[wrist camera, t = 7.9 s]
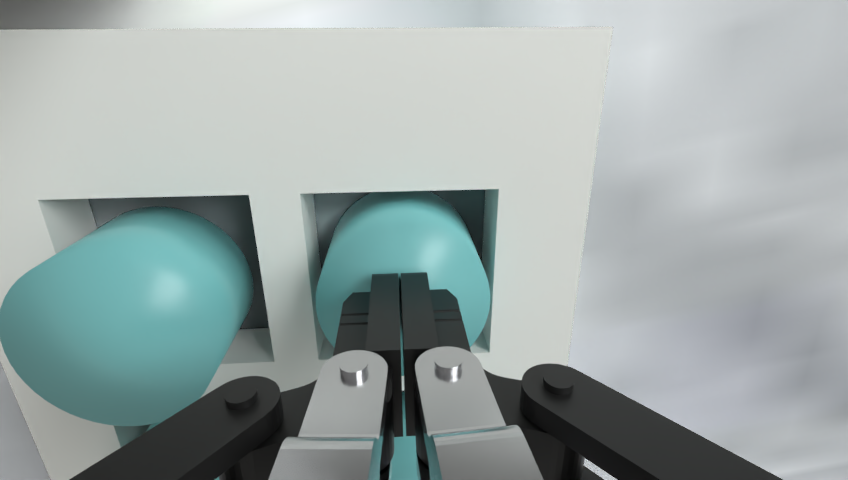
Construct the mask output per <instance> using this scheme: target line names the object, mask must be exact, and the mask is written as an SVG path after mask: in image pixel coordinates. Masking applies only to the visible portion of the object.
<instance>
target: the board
mask: <svg viewBox="0 0 848 480" xmlns="http://www.w3.org/2000/svg"><path fill="white" fill-rule="evenodd" d="M612 32H613V27H463V28H232V29H2V30H0V309H1V305H2V303H3V300H4V298H5V296H6V294H7V293H8V291H9V289H10V288H11V286H12V285H13V284H14V283H15V282H16V281H17V280H18V279H19V278H20V277H21V276H23V275H24V274H25V273H27V272H28V271H29V270H31V269H33V268H34V267H36V266H37V265H39V264H41V263H42V262H44V261H46V260H47V259H49V258H50V257H52V256H54V255H55V254H57V253H59V252H60V251H62V250H63V249H65V248H67V247H68V246H70V245H72V244H73V243H75V242H76V241H78V240H80V239H81V238H83V237H85V236H86V235H88V234H89V233H91V232H93V231H94V230H96V229H97V227H96V223H95V220H94V216H93V213H92V210H91V206H90V203H89V199H95V198H138V197H181V196H224V195H249V200H250V206H251V213H252V219H253V225H254V232H255V238H256V245H257V251H258V258H259V264H260V271H261V277H262V284H263V290H264V296H265V303H266V309H267V316H268V322H269V328H262V329H239V331H238V332H237V334H236V336H235V338H234V340H233V342H232V343H231V345H230V347H229V349H228V351H227V353H226V354H225V356H224V358H223V360H222V362H221V364H220V366H219V367H218V369H217V371H216V373H215V375H214V377H213V378H212V380H211V382H210V384H209V386H208V387H207V389H206V391H205V392H204V394H203V395H202V396H201V397H200V398H202V397H203V396H205V395H206V394H208V393H210V392H211V391H213V390H214V389H216V388H218V387H219V386H221V385H223V384H225V383H227V382H229V381H231V380H234V379H237V378H241V377H247V376H262V377H266V378H269V379H271V380H273V381H274V382H276V383H277V385H278V386H279V388H280V392H283V391H287V390H291V389H295V388H298V387H301V386H305V385H307V384H309V383H312V382H313V381H315V380H317V379H318V376H319V373H320V370H321V368H322V366H323V365H324V363H325V362H327V361H328V360H329V359H330V358H332V357H333V353H334V347H333V346H332V345H331V343H330V342H329V341H328V339H327V338H326V336H325V334H324V332H323V330H322V329H321V326H320V323H319V320H318V317H317V312H316V290H317V285H318V281H319V278H320V275H321V266H320V256H319V246H318V236H317V226H316V216H315V206H314V196H313V193H352V192H395V191H437V190H480V189H485V205H484V227H483V249H482V265H483V268H484V270H485V273H486V276H487V279H488V282H489V288H490V308H489V314H488V317H487V321H486V323H485V325H484V328H483V330H482V332H481V333H480V335H479V337H478V338H477V340H476V341H475V342H474V343H473V344H472V346H471V347H470V350H471V353H472V354H474V355H475V356H476V357H477V358H478V359H479V361H480V363H481V365H482V367H483V369H484V370H486V371H488V372H490V373H492V374H494V375H497V376H501V377H505V378H511V379H517V380H522V377H523V375H524V373H525V372H526V371H527V370H528V369H529V368H531V367H533V366H536V365H540V364H547V363H550V364H560V365H564V366H568V358H569V351H570V343H571V336H572V329H573V321H574V314H575V306H576V299H577V291H578V284H579V277H580V269H581V262H582V254H583V247H584V240H585V232H586V225H587V217H588V210H589V203H590V195H591V188H592V180H593V173H594V165H595V158H596V151H597V143H598V136H599V128H600V121H601V114H602V106H603V99H604V91H605V84H606V77H607V69H608V62H609V54H610V47H611V39H612ZM0 362H1V365H2V367H3V369H4V372H5V374H6V376H7V379H8V381H9V383H10V386H11V388H12V390H13V393H14V395H15V397H16V400H17V402H18V404H19V407H20V409H21V411H22V414H23V416H24V419H25V421H26V423H27V426H28V428H29V430H30V433H31V435H32V437H33V440H34V442H35V444H36V447H37V449H38V451H39V454H40V456H41V458H42V461H43V463H44V465H45V468H46V470H47V473H48V475H49V477H50V480H69V479H71V478H72V477H74V476H76V475H77V474H79V473H81V472H82V471H84V470H85V469H87V468H89V467H90V466H92V465H93V464H95V463H97V462H98V461H100V460H102V459H103V458H105V457H106V456H108V455H110V454H111V453H113V452H114V451H116V450H118V449H119V448H121V447H123V446H124V445H126V444H127V443H129V442H131V441H132V440H134V439H135V438H137V437H139V436H140V435H142V434H143V433H145V432H146V431H147V429H148V428H149V426H150V425H151V424H149V425H141V426H115V425H107V424H101V423H96V422H92V421H89V420H85V419H82V418H79V417H77V416H74V415H72V414H69V413H67V412H65V411H63V410H61V409H59V408H57V407H55V406H54V405H52V404H51V403H49V402H47V401H46V400H44V399H43V398H42V397H40V396H39V395H38V394H36V393H35V392H34V391H33V390H32V389H31V388H30V387H29V386H28V385H27V384H25V382H24V381H23V380H22V379H21V378H20V377H19V375H18V374H17V373H16V372H15V370H14V369H13V367H12V366H11V364H10V363H9V361H8V359H7V357H6V355H5V353H4V350H3V347H2V344H1V341H0ZM402 391H404V376H402Z"/></svg>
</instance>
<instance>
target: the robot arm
mask: <svg viewBox="0 0 848 480" xmlns="http://www.w3.org/2000/svg"><path fill="white" fill-rule="evenodd" d="M401 304H402V339H403V366H404V392H405V418H406V436H415V438H416V466H417V475H418V480H604V479H602V478H601V477H599V476H598V475H596V474H595V473H594V472H592V471H591V470H589V469H588V468H586V467H585V466H583V464H584V459H585V458H586V459H588V460H589V461H591V462H592V463H594V464H595V465H597V466H598V467H600V468H601V469H603V470H604V471H606V472H607V473H609V474H610V475H612V476H613V477H615V478H616V479H617V480H782V479H781V478H779V477H777V476H775V475H773V474H771V473H769V472H767V471H765V470H764V469H762V468H760V467H758V466H756V465H754V464H752V463H750V462H749V461H747V460H745V459H743V458H741V457H739V456H737V455H735V454H734V453H732V452H730V451H728V450H726V449H724V448H722V447H720V446H718V445H717V444H715V443H713V442H711V441H709V440H707V439H705V438H703V437H702V436H700V435H698V434H696V433H694V432H692V431H690V430H688V429H686V428H685V427H683V426H681V425H679V424H677V423H675V422H673V421H671V420H670V419H668V418H666V417H664V416H662V415H660V414H658V413H656V412H654V411H653V410H651V409H649V408H647V407H645V406H643V405H641V404H639V403H638V402H636V401H634V400H632V399H630V398H628V397H626V396H624V395H623V394H621V393H619V392H617V391H615V390H613V389H611V388H609V387H607V386H606V385H604V384H602V383H600V382H598V381H596V380H594V379H592V378H591V377H589V376H587V375H585V374H583V373H581V372H579V371H577V370H575V369H573V368H571V367H568V366H564V365H560V364H550V363H547V364H540V365H536V366H533V367H531V368H529V369H528V370H527V371H526V372H525V373H524V375H523V377H522V380H517V379H511V378H505V377H501V376H497V375H494V374H492V373H490V372H488V371H486V370H484V369H483V367H482V365H481V363H480V361H479V359H478V358H477V357H476V356H475V355H474V354H472V353H471V350H470V346H469V342H468V339H467V335H466V331H465V327H464V323H463V321H462V316H461V312H460V308H459V304H458V300H457V298H456V297H455V296H454V295H453V294H452V293H451V292H450V291H448V290H447V289H434V290H430V288H429V282H428V276H427V272H416V273H401ZM394 437H403V410H402V376H401V342H400V310H399V278H398V273H389V274H372V279H371V291H370V292H353V293H352V294H351V295H350V296H349V297H348V298H347V299H346V300H345V301H344V302H343V306H342V311H341V316H340V321H339V327H338V332H337V337H336V343H335V348H334V353H333V357H332V358H330V359H329V360H328V361H327V362H325V363H324V365H323V366H322V368H321V370H320V373H319V376H318V379H317V380H315V381H313V382H312V383H309V384H307V385H305V386H301V387H298V388H295V389H291V390H287V391H283V392H280V388H279V386H278V385H277V383H276V382H274V381H273V380H271V379H269V378H266V377H262V376H247V377H241V378H237V379H234V380H231V381H229V382H227V383H225V384H223V385H221V386H219V387H218V388H216V389H214V390H213V391H211V392H210V393H208V394H206V395H205V396H203V397H202V398H200V399H198V400H197V401H195V402H193V403H192V404H190V405H189V406H187V407H185V408H184V409H182V410H181V411H179V412H177V413H176V414H174V415H173V416H171V417H169V418H168V419H166V420H164V421H163V422H161V423H160V424H158V425H156V426H155V427H153V428H152V429H150V430H148V431H147V432H145V433H143V434H142V435H140V436H139V437H137V438H135V439H134V440H132V441H131V442H129V443H127V444H126V445H124V446H123V447H121V448H119V449H118V450H116V451H114V452H113V453H111V454H110V455H108V456H106V457H105V458H103V459H102V460H100V461H98V462H97V463H95V464H93V465H92V466H90V467H89V468H87V469H85V470H84V471H82V472H81V473H79V474H77V475H76V476H74V477H72V478H71V479H69V480H215V479H216V478H218V477H219V480H391V476H392V458H393V455H394Z"/></svg>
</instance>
